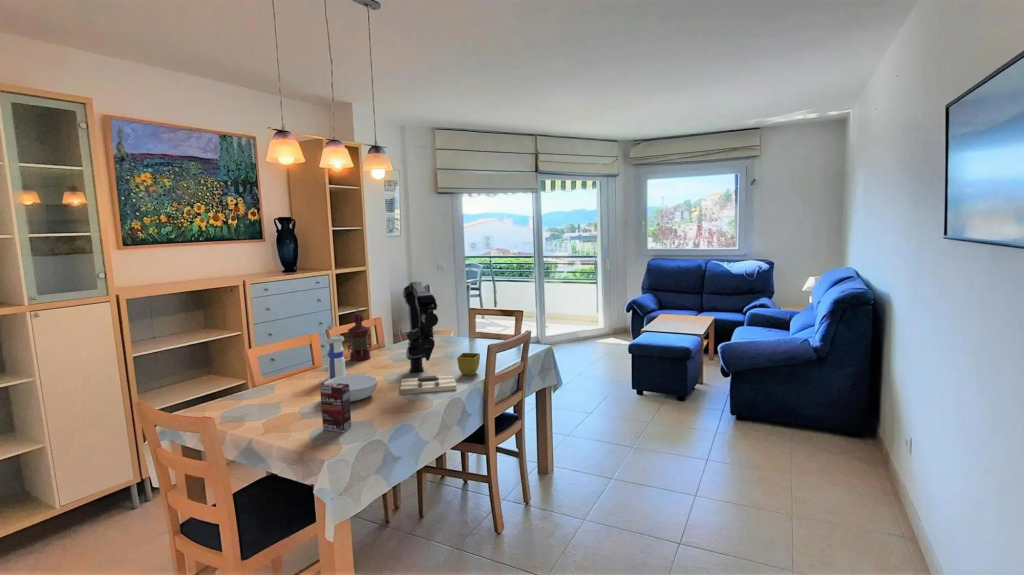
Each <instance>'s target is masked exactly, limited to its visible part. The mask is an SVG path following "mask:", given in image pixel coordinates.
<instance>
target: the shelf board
mask: <svg viewBox="0 0 1024 575" xmlns="http://www.w3.org/2000/svg"><path fill="white" fill-rule="evenodd" d="M456 390H457V381H456V378H455V375H444V376H443V375H442V376H437V377H436V381H428V382H420V378H418V377H414V378H402V379H401V382H400V395H405V394H407V395H408V394H420V393H430V392H445V391H446V392H447V391H456Z"/></svg>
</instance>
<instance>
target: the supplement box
mask: <svg viewBox="0 0 1024 575" xmlns="http://www.w3.org/2000/svg"><path fill="white" fill-rule="evenodd" d="M324 383H325V382H324ZM324 383H323V384H321V385H320V386H319V389H320V402H321V405H320V406H321V415H322V431H332V432H340V433H346V432H347V431H348V430H349V429H351V428H352V416H351V402H350V394H349V384H341V383H330V382H327V383H325V384H324Z"/></svg>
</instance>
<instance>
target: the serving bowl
mask: <svg viewBox="0 0 1024 575" xmlns="http://www.w3.org/2000/svg"><path fill="white" fill-rule="evenodd" d="M327 382H330V383H341V384H349V394H350V403H351V402H356V401H360V400H364V399H365V398H368V397H369V396H371V395H373V393H374V392H375V391H376V390H377V387H378V378H377V377H375V376H372V375H368V374H346V376H340V377H336V378H333V379H330V380H329V379H328V380H326V381H325V382H324V383H323V384H325V383H327Z"/></svg>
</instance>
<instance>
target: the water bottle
mask: <svg viewBox="0 0 1024 575" xmlns="http://www.w3.org/2000/svg"><path fill="white" fill-rule="evenodd" d="M333 327H334V325H331V323H329V324H328V326H326V328H327V331H328V332H329V331H332V330H333ZM344 341H345V338H344V335H331V336H330V338H327V337H326V338H325V344H326V345H328V348H327V352H326V356H327V358H328V359H327V360H328V361H327V362H328V363H327V364H328V365H327V366H328V380H330V379H333V378H336V377H340V376H346V375H347V371H346V362H345V361H346V360H345V357H344V350H345V349H344V347H343V342H344Z"/></svg>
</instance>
